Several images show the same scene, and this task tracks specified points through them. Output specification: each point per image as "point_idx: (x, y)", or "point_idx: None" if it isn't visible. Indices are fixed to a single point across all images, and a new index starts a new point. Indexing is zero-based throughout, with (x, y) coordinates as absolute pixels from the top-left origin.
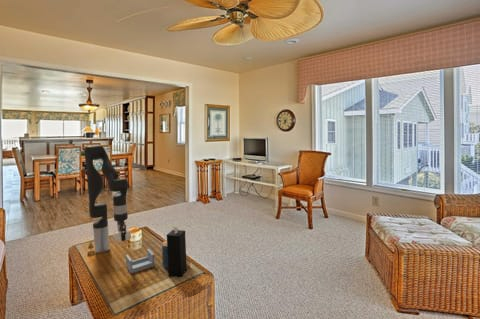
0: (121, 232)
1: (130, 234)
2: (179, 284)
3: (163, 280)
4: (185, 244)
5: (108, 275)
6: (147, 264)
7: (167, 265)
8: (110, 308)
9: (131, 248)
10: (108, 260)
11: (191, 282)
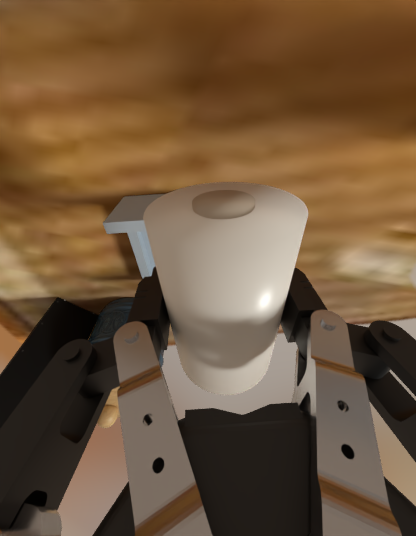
0: (54, 386)
1: (180, 360)
2: (2, 307)
3: (35, 281)
4: None
5: (153, 78)
6: (139, 268)
7: (101, 313)
8: None
9: (368, 239)
10: (348, 108)
11: (11, 327)
